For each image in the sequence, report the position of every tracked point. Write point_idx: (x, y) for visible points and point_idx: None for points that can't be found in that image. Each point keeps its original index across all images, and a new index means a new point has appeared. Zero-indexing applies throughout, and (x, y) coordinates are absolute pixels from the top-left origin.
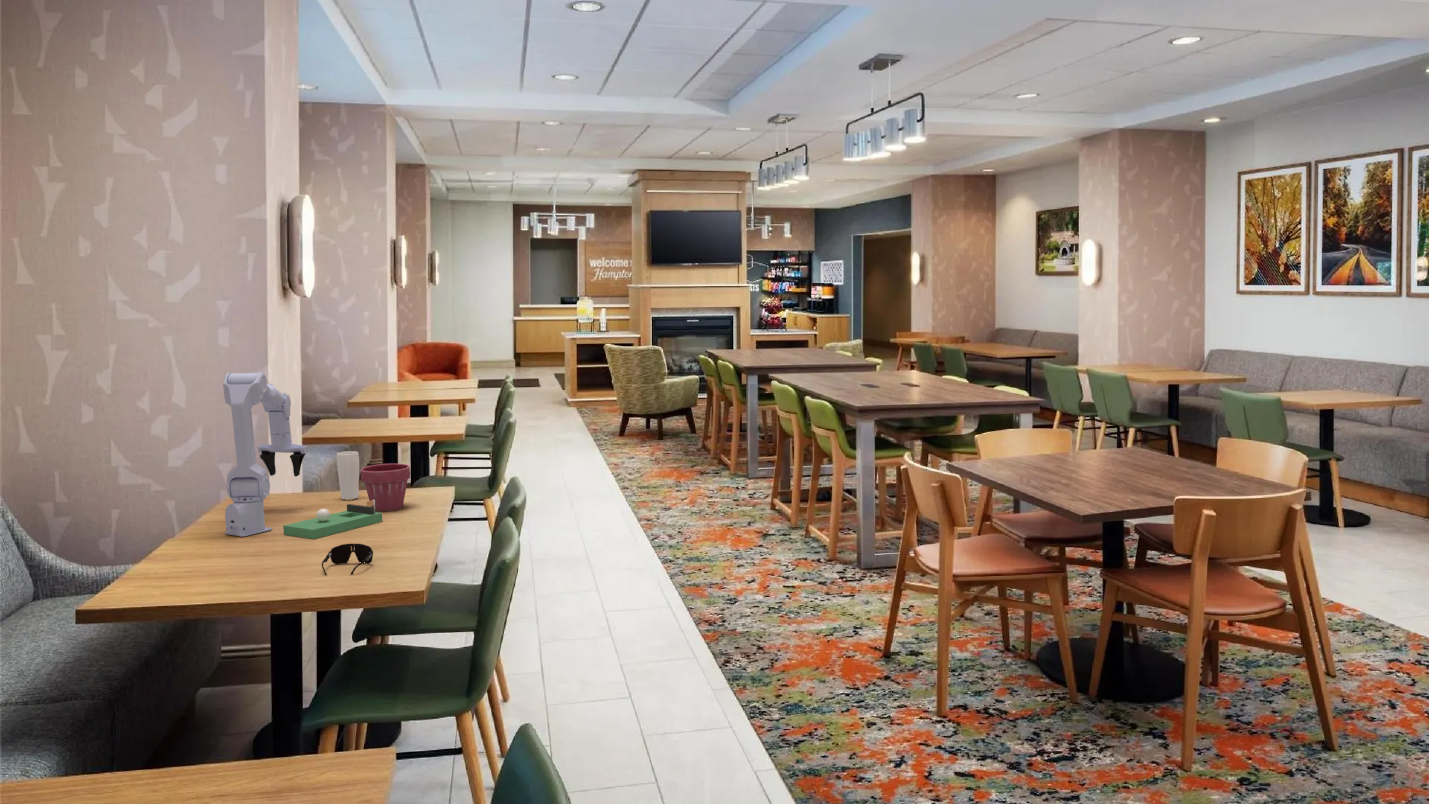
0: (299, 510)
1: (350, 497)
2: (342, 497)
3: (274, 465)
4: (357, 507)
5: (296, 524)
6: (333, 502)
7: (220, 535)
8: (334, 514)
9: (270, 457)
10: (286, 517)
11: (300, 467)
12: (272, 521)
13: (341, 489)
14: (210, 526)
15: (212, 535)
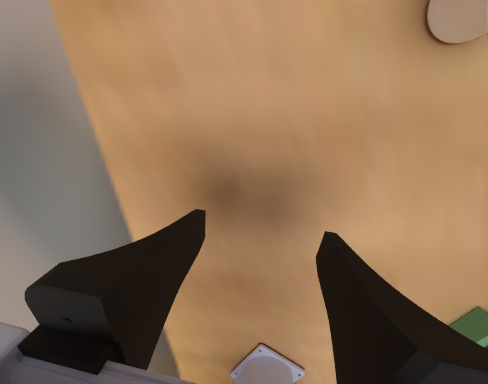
0: (306, 198)
1: (478, 37)
2: (440, 35)
3: (185, 236)
4: None
5: None
6: (395, 78)
7: (227, 375)
8: None
9: (150, 321)
10: (297, 272)
11: (359, 258)
12: (278, 302)
13: (467, 16)
14: (176, 315)
15: (214, 372)
